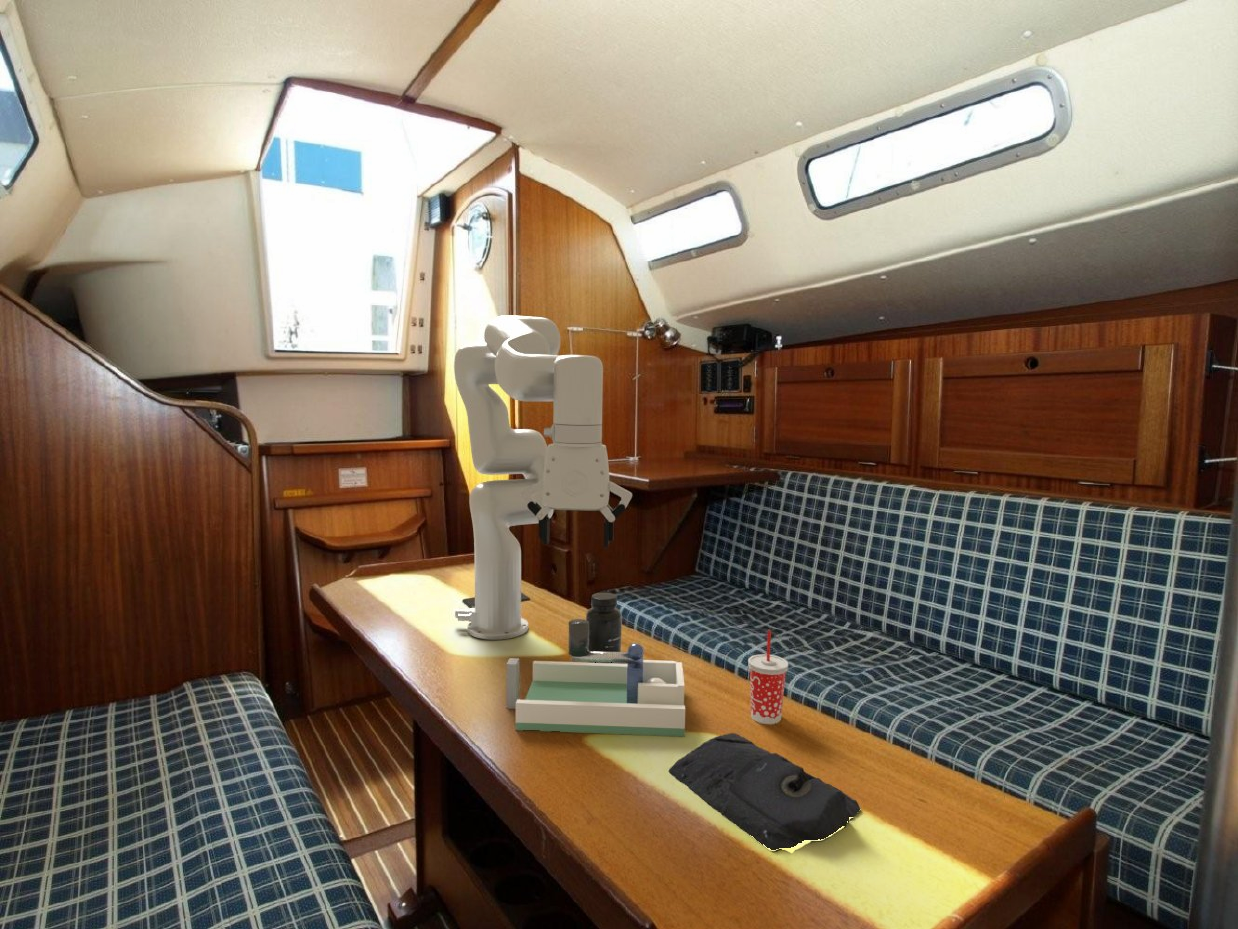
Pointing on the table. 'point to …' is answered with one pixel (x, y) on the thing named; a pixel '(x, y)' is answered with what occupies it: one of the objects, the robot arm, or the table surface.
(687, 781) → the dark slate chunk
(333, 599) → the table surface
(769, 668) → the beverage cup
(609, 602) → the supplement bottle
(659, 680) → the ball
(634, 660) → the table football player
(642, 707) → the pitch
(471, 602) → the smartphone
